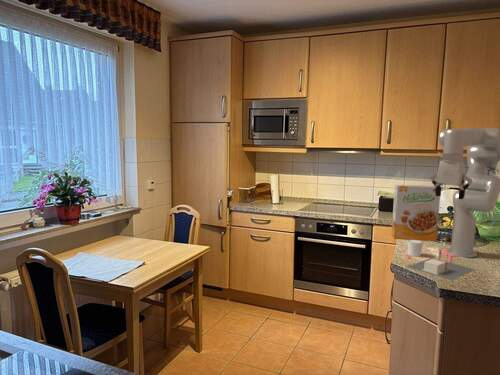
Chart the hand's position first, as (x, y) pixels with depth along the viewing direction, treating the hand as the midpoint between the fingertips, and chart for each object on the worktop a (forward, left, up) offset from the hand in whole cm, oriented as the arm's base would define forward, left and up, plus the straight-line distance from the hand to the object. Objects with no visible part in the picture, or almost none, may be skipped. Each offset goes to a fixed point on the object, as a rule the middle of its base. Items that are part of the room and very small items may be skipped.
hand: (449, 197), depth 162 cm
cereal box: (-32, -32, -31) cm, 55 cm away
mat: (+7, +2, -30) cm, 31 cm away
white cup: (-2, -15, -31) cm, 34 cm away
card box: (+12, +2, -30) cm, 32 cm away
